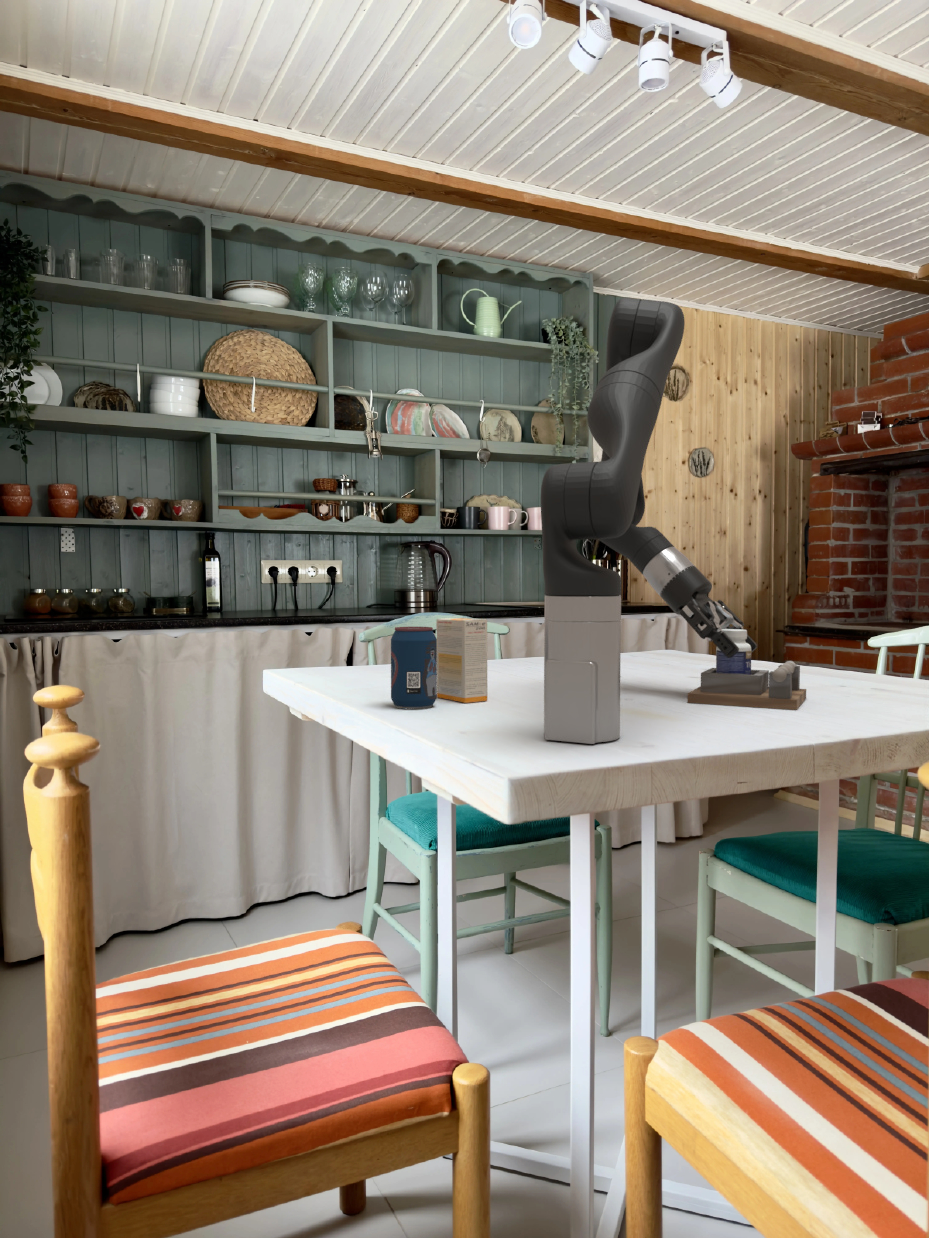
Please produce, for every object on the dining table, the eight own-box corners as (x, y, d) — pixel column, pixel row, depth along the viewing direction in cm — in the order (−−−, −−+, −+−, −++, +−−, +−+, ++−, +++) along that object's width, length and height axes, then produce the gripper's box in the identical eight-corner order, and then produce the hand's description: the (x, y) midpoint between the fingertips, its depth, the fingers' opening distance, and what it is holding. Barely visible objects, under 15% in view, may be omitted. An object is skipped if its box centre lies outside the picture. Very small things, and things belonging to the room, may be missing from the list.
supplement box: (489, 701, 134) (489, 618, 133) (464, 703, 131) (464, 619, 130) (459, 695, 140) (459, 616, 140) (435, 697, 138) (435, 617, 137)
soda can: (392, 703, 131) (391, 626, 131) (436, 702, 132) (436, 626, 131) (389, 710, 124) (389, 628, 124) (436, 709, 125) (436, 628, 124)
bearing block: (796, 710, 125) (797, 669, 124) (687, 702, 132) (687, 664, 132) (806, 698, 137) (806, 661, 137) (705, 692, 144) (706, 657, 144)
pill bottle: (752, 692, 132) (753, 630, 132) (717, 692, 133) (718, 630, 133) (748, 688, 137) (749, 628, 137) (714, 687, 138) (715, 628, 138)
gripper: (674, 563, 133) (745, 639, 127) (708, 564, 145) (775, 634, 138) (643, 596, 137) (710, 671, 130) (678, 595, 148) (742, 664, 142)
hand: (743, 652), depth 134 cm, fingers open, 8 cm apart
